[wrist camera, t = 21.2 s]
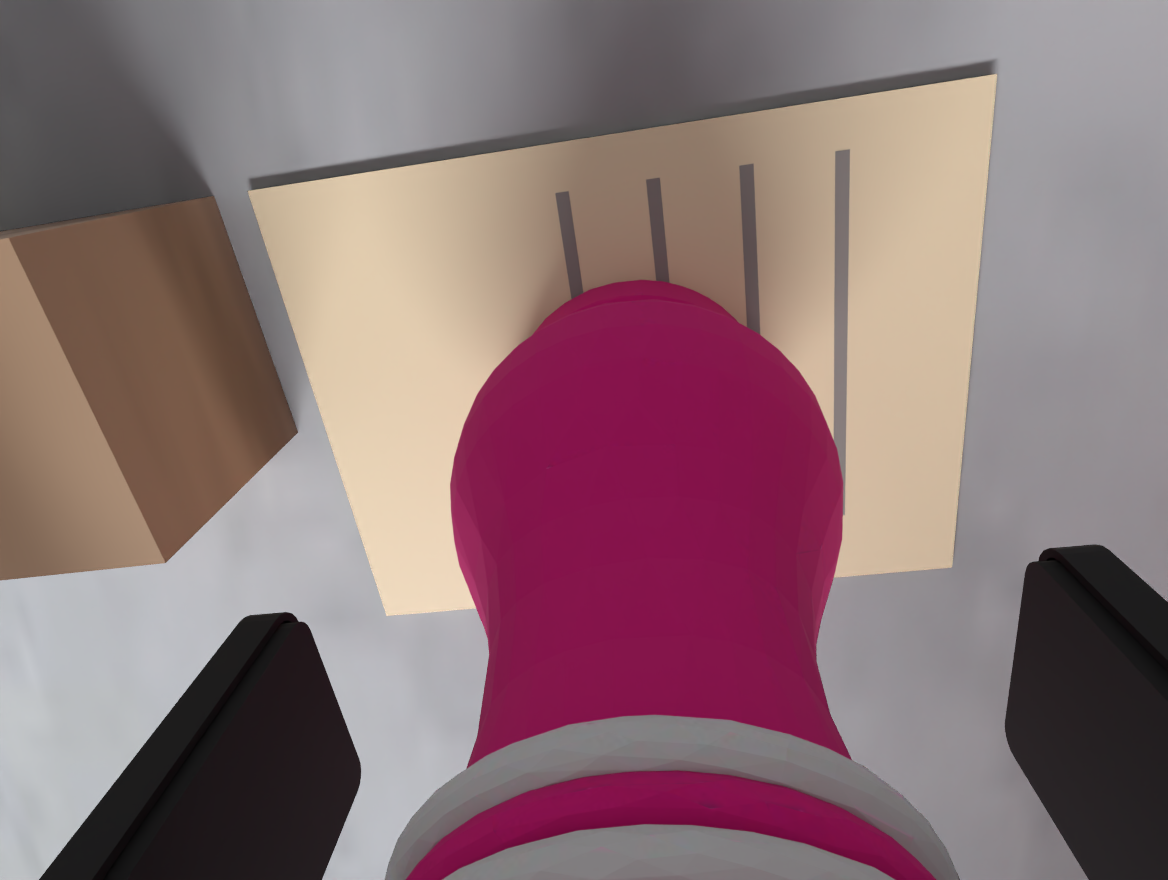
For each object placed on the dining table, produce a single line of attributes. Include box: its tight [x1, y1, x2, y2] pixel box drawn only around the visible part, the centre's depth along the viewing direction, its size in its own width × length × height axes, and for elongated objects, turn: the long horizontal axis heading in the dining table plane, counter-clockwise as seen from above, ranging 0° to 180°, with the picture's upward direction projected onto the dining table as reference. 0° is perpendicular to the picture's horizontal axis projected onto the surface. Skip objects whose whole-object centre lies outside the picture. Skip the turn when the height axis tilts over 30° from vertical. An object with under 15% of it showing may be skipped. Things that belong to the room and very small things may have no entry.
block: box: [0, 196, 298, 580], centre depth 15 cm, size 6×6×6 cm
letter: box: [248, 74, 997, 616], centre depth 17 cm, size 16×12×1 cm
